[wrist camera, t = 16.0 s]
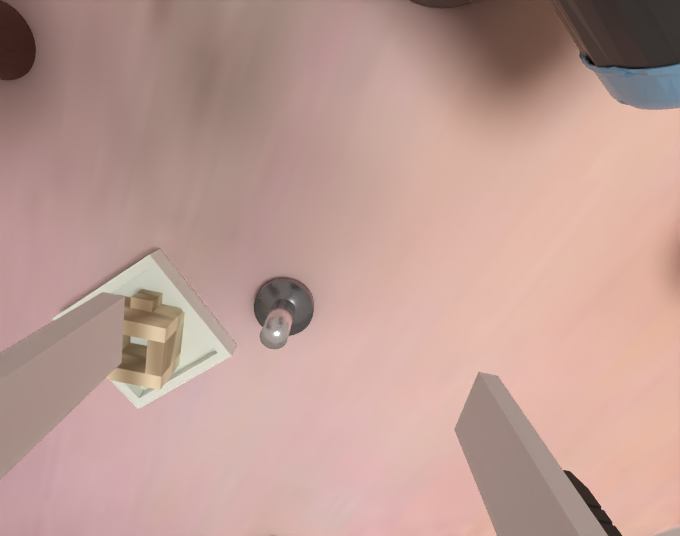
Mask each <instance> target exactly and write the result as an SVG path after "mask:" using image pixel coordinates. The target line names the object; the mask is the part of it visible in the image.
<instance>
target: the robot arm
mask: <svg viewBox="0 0 680 536" xmlns="http://www.w3.org/2000/svg"><path fill="white" fill-rule="evenodd" d="M412 1H414V2H416V3H418V4H421V5H424V6H429V7H435V8H449V7H456V6H460V5H464V4H467V3H469V2H472V1H474V0H412ZM550 2H551V4H552V5H553V7H554V9H555V10H556V12H557V14H558V15H559V17H560V19H561V20H562V22H563V24H564V25H565V27H566V28H567V30H568V32H569V33H570V35H571V37H572V38H573V40H574V42H575V43H576V45H577V47H578V48H579V50H580V58H581V60H582V62H583V63H584V64H585V65H586V67H588V68H589V69H591V70H593V71H594V72H595V73H596V75H597V76H598V78H599V79H600V80H601V82H602V83H603V85H604V86H605V88H606V89H607V91H608V92H609V93H610V95H611V96H612V97H613V98H614V99H616V100H617V101H618V102H620V103H622V104H626V105H630V106H634V107H636V108H639V109H648V110H661V109H673V108H680V0H550ZM124 304H125V297H124V296H120V295H115V294H110V293H105V292H102V293H100V294H98V295H97V296H95V297H93V298H92V299H90V300H88V301H87V302H85V303H83V304H81V305H80V306H78V307H76V308H75V309H73V310H71V311H70V312H68V313H66V314H65V315H63V316H61V317H60V318H58V319H56V320H54V321H53V322H51V323H49V324H48V325H46V326H44V327H43V328H41V329H39V330H38V331H36V332H34V333H33V334H31V335H29V336H27V337H26V338H24V339H22V340H21V341H19V342H17V343H16V344H14V345H12V346H11V347H9V348H7V349H6V350H4V351H2V352H0V479H1V478H2V477H3V476H5V475H6V474H7V473H8V472H9V471H10V470H11V469H12V468H13V467H14V466H15V465H16V464H17V463H18V462H19V461H20V460H21V459H22V458H23V457H24V456H25V455H26V454H27V453H28V452H29V451H30V450H31V449H33V448H34V447H35V446H36V445H37V444H38V443H39V442H40V441H41V440H42V439H43V438H44V437H45V436H46V435H47V434H48V433H49V432H50V431H51V430H52V429H53V428H54V427H55V426H56V425H57V424H58V423H59V422H61V421H62V420H63V419H64V418H65V417H66V416H67V415H68V414H69V413H70V412H71V411H72V410H73V409H74V408H75V407H76V406H77V405H78V404H79V403H80V402H81V401H82V400H83V399H84V398H85V397H86V396H87V395H89V394H90V393H91V392H92V391H93V390H94V389H95V388H96V387H97V386H98V385H99V384H100V383H101V382H102V381H103V380H104V379H105V378H106V377H107V376H108V375H109V374H110V373H111V372H112V371H113V370H114V369H116V368H117V367H118V366H119V365H120V364H121V362H122V343H123V324H124ZM455 432H456V434H457V437H458V439H459V442H460V444H461V447H462V449H463V452H464V454H465V457H466V459H467V462H468V464H469V467H470V469H471V472H472V474H473V477H474V479H475V482H476V484H477V487H478V489H479V491H480V494H481V496H482V499H483V501H484V504H485V506H486V509H487V511H488V514H489V516H490V519H491V521H492V524H493V526H494V529H495V531H496V534H497V536H622V535H621V533H620V532H619V531H618V529H617V528H616V527H615V526H613V525H612V521H611V520H610V518H609V517H608V516H607V514H606V513H605V511H604V510H601V506H600V504H599V503H598V502H597V500H596V499H595V498H594V496H593V495H592V493H591V492H590V491H589V489H588V488H587V487H586V486H585V485H584V484H583V483H582V482H581V481H580V480H578V479H577V478H576V477H575V476H574V475H573V474H572V473H571V472H570V471H566V470H562V468H561V467H560V465H559V464H558V462H557V461H556V460H555V458H554V457H553V455H552V454H551V452H550V451H549V449H548V448H547V446H546V445H545V444H544V442H543V441H542V439H541V438H540V436H539V435H538V433H537V432H536V431H535V429H534V428H533V426H532V425H531V423H530V422H529V420H528V419H527V417H526V416H525V415H524V413H523V412H522V410H521V409H520V407H519V406H518V404H517V403H516V402H515V400H514V399H513V397H512V396H511V394H510V393H509V391H508V390H507V388H506V387H505V386H504V384H503V383H502V381H501V380H500V378H499V377H498V376H496V375H491V374H487V373H482V372H478V374H477V377H476V379H475V382H474V384H473V386H472V389H471V391H470V394H469V396H468V398H467V401H466V403H465V405H464V408H463V410H462V413H461V415H460V417H459V420H458V422H457V425H456V427H455Z"/></svg>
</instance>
